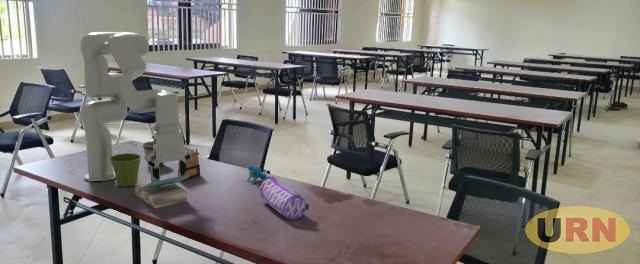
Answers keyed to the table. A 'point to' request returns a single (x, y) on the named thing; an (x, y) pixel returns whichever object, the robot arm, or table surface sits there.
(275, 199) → the pencil case
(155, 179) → the steel pin
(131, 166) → the plant pot
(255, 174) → the gear
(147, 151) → the ceramic cup
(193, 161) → the ammunition clip
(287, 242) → the table surface
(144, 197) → the block
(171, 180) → the teal square plate
